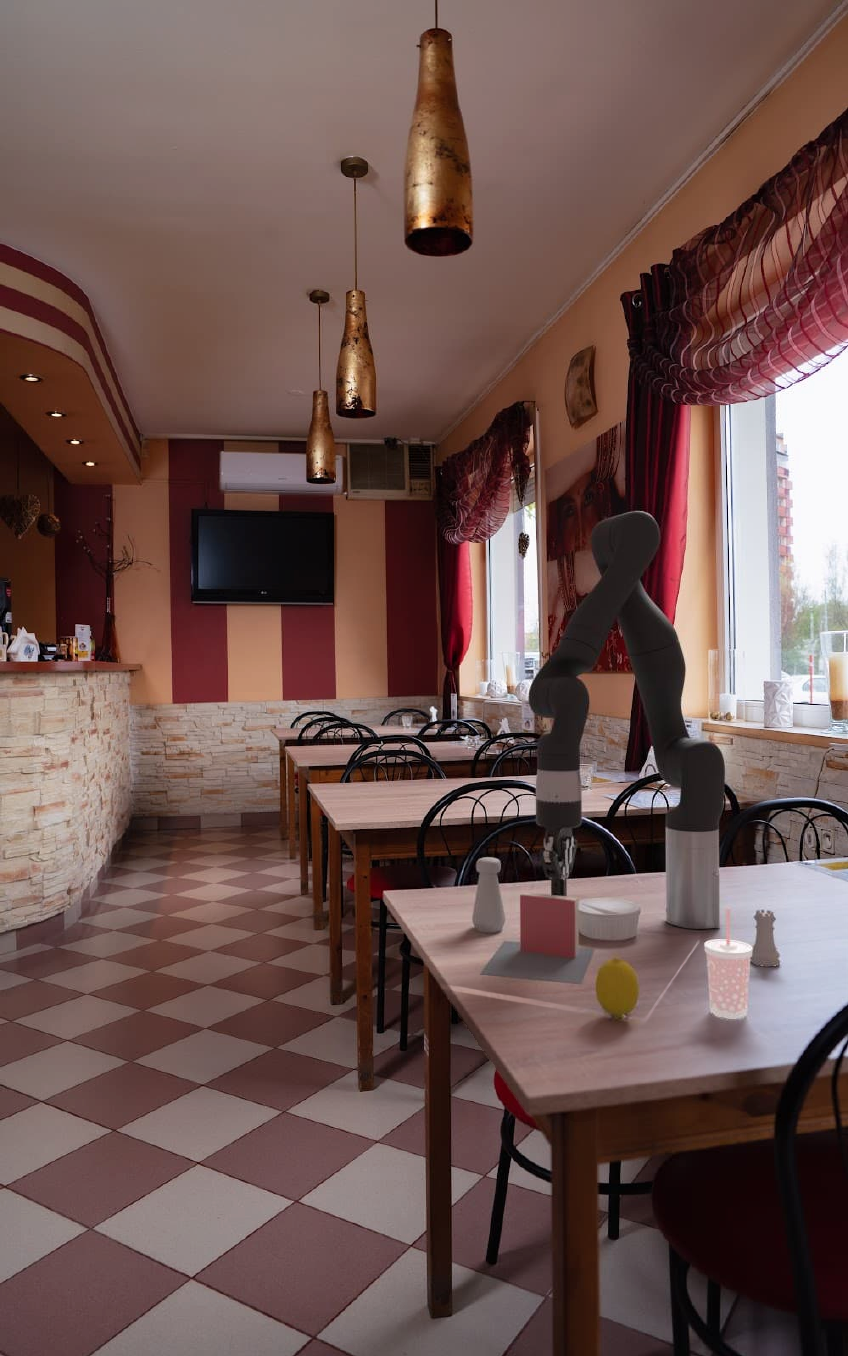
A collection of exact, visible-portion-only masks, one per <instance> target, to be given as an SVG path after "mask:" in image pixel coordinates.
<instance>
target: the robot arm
mask: <svg viewBox="0 0 848 1356" xmlns="http://www.w3.org/2000/svg"><path fill="white" fill-rule="evenodd" d="M660 543H661V531H660V527H659V525H658V523H657V521H656V519H655V518H654V517H653V516H652V514H650V513H648V512H645V511H643V510H642V511H640V510H634V511H629V512H625V513H621V514H618V515H614V516H612V517H608V518H605V519H602V520H601V521H599V522H597V523H596V524H595V525H594V527H593V528H592V531H591V534H590V547H591V554H592V557H593V559H594V562H595V565H596V567H597V570H598V572H599V575H600V579H599V580H598V582H597V583H596V585H595V586H593V588H592V589H591V591H589V593H588V594H587V595H586V596H585V598H584V599H582V601H581V602H580V604H579V605H578V606H577V607H576V609H575V610H574V612H573V614H572V615H571V617H570V618H569V620H568V623H567V625H566V626H565V628H564V631H563V633H562V636H561V638H560V641H559V642H558V645H557V647H556V649H555V651H554V652H553V653H552V654H551V655H550V656H549V658H548V659H547V660H546V661H545V663H544V665H542V667H541V668H540V670H539V671H538V672H537V674H536V675H535V676H534V679H533V680H532V681H531V685H530V687H529V690H528V704H529V708H530V709H531V711H532V713H534V714H535V715H536V716H538V717H541V718H544V719H553V721H552V722H553V723H552V726H551V730H550V732H548V733H545V734H542V735H540V736H539V737H538V740H537V745H536V746H537V747H536V748H537V749H536V752H537V753H536V757H537V758H536V759H537V760H536V761H537V763H536V767H537V768H536V769H537V770H536V780H535V823H536V825H537V826H539V827H542V828H544V829H545V836H544V837H543V848H544V850H543V849H539V852H538V856H539V860H540V864H541V866H542V869H543V872H544V876H545V878H549V880H550V895H557V896H566V897H568V894H567V888H568V887H567V886H568V885H567V882H568V881H567V880H568V878H569V875H570V873H571V872H572V871H573V866H574V862H575V857H576V852H577V849H578V848H577V847H578V843H579V841H578V840H577V839H574V836H573V829H575V828H578V827H580V826H581V825H582V822H583V821H582V820H583V815H582V814H583V812H582V811H583V809H582V808H583V807H582V805H583V804H582V799H583V798H582V796H583V795H582V792H583V791H582V789H583V787H582V777H581V765H580V764H581V752H580V751H581V749H580V748H581V742H582V738H583V735H584V731H585V728H586V723H587V720H588V715H589V710H590V695H589V691H588V687H587V686H586V684H585V683H584V681H583V680H582V679H580V678H578V677H579V676H581V675H583V674H587V673H588V672H590V671H592V670H593V669H594V667H595V666H596V664H597V662H598V660H599V658H600V655H601V653H602V651H603V648H604V646H605V643H606V641H607V639H608V637H609V634H610V632H611V630H612V627H613V626H614V623H615V621H616V620H617V623H618V625H619V629H620V631H621V634H622V638H623V641H624V645H625V649H626V653H627V657H628V659H629V663H630V666H631V670H632V673H633V676H634V679H635V682H636V684H637V689H638V692H639V695H640V699H641V702H642V705H643V709H644V713H645V717H646V721H647V724H648V730H649V734H650V738H651V739H650V740H651V745H652V750H653V757H654V761H655V764H656V769H657V771H658V775H660V777H661V779H662V780H663V781H664V782H665V783H666V784H667V785H668V786H672V787H674V788H677V789H678V788H679V789H680V795H679V796H680V797H679V803H678V804H677V806H675V807H673V808H670V809H668V810H667V812H666V814H665V912H666V913H665V915H666V917H665V918H666V919H665V920H666V922H667V923H668V924H670V925H671V926H675V927H680V928H684V929H694V930H698V929H699V930H704V929H706V930H707V929H720V927H721V926H720V925H721V924H720V923H721V921H720V920H721V919H720V911H721V910H720V909H721V908H720V904H721V903H720V900H721V899H720V846H719V845H720V843H719V842H720V838H719V837H720V834H719V833H720V832H719V831H720V829H719V828H720V819H721V817H722V814H723V811H724V805H725V802H724V801H725V783H726V765H725V760H724V755H723V753H722V750H721V748H719V746H718V745H717V744H715V743H714V742H712V741H710V740H706V739H705V740H704V739H699V738H691V737H690V734H689V732H688V729H687V726H686V723H685V720H684V716H683V712H682V711H683V710H682V697H683V691H684V686H685V680H686V674H687V673H686V672H687V671H686V661H685V657H684V652H683V649H682V646H681V643H680V640H679V636H678V633H677V630H676V629H675V627H674V625H673V624H672V622H671V621H670V619H668V617H667V616H666V615H665V613H664V612H663V611H662V610H661V609H660V608H659V607H658V606H657V605H656V604H655V602H654V601H653V600H652V599H651V598H650V597H649V595H648V593H647V592H646V590H645V588H644V587H643V586H644V585H643V584H642V581H641V577H642V576H643V575H644V573H645V571H646V570H647V569H648V567H649V565H650V564H651V562H652V560H654V557H655V555H656V554H657V551H658V549H659V546H660Z"/></svg>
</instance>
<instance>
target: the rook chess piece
mask: <svg viewBox="0 0 848 1356" xmlns="http://www.w3.org/2000/svg"><path fill="white" fill-rule="evenodd" d="M753 918H754V920H755V921H756V925H755V929H756V935H755V942H754V944H753V946H752V948H753V951H752V956H751V957H750V962H751V963H752V962H753V963H755V964H758V965H763V966H774V965H777V964H778V965H780V963H781V960H780V959H779V958H780V957H781V954H780V952H779V951H778V948H777V947H776V944H775V938H774V930H775V927H774V926H773V925H774V922H775V921H776V920H777V918H776V917H775V915H774V911H771V910H769V909H767V910H766V912H765V909H757V910H756V911H755V914H754V916H753ZM753 963H752V964H753ZM755 964H754V965H755ZM758 965H757V966H758ZM763 966H762V967H763Z"/></svg>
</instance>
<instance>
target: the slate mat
mask: <svg viewBox="0 0 848 1356" xmlns="http://www.w3.org/2000/svg"><path fill="white" fill-rule="evenodd" d="M594 952H595V948H591V947H582V946H579V955H578V956H577V957H576V958H575V959H573V958H566V957H559V956H552V955H545V954H538V953H532V952H525V951H520V941H510V940H504V941H503V942H502V943H501V944H500V945H499V947H498V949H496V951H495V953H494V954H493V955H492V957H491V958H490V960H489V961H488V962H487V964H486V965H485V967H484V968H483V969H482V971H481V972H480V973H479V975H483V976H484V975H485V976H494V977H505V978H513V979H525V980H535V981H536V980H537V981H546V982H553V983H554V982H556V983H566V984H567V983H568V984H575V985H576V984H577V985H582V983H583V980H584V978H585V974H586V973H587V970H588V967H589V965H590V962H591V961H592V956H593V954H594Z"/></svg>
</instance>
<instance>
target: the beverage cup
mask: <svg viewBox="0 0 848 1356" xmlns="http://www.w3.org/2000/svg"><path fill="white" fill-rule="evenodd" d="M725 911H726V912H725V919H726V920H725V925H726V926H725V927H726V929H725V930H726V932H725V935H726V937H725V938H724V939H723V938H719V939H715V938H714V939H709V940H707V941H705V942H703V946H704V952H705V954H706V965H707V983H708V994H709V997H708V998H709V1011H710V1014H712V1013H713V1014H714V1015H715V1016H714V1015H713V1014H712V1015H713V1016H714V1017H716V1016H717V1017H716V1018H719V1017H724V1018H729V1019H736V1018H741V1017H745V1016H746V1015H747V1016H748V1001H749V987H750V986H749V985H750V984H749V983H750V970H751V969H750V968H751V960H750V957H751V956H752V951H753V948H754V947H753V946H752V945H750V944H749V943H747V942H745V941H744V942H743V941H740V940H737V939H735V940H734V939H731V908H730V907H726V908H725ZM747 1016H746V1017H747ZM746 1017H745V1018H746Z"/></svg>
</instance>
